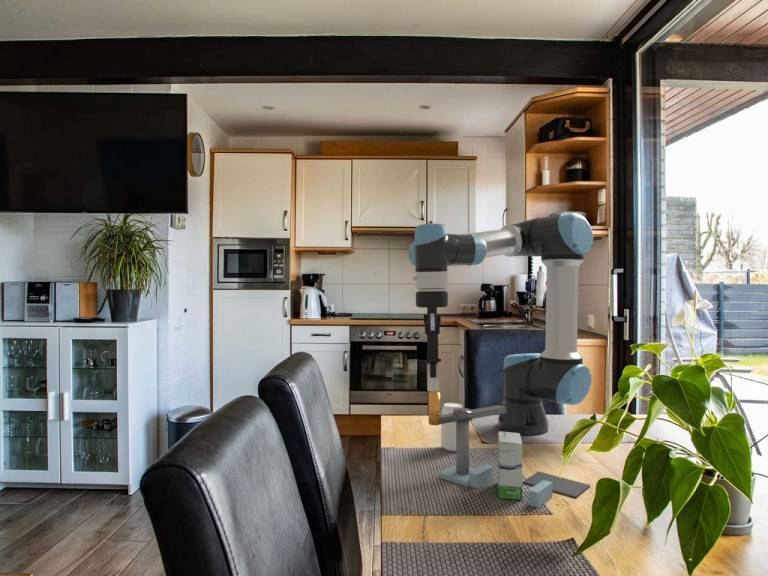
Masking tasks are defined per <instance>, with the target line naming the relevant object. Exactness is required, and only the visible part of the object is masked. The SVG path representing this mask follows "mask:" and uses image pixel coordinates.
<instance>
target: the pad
mask: <svg viewBox="0 0 768 576" xmlns="http://www.w3.org/2000/svg"><path fill="white" fill-rule="evenodd" d="M559 477H561V478H559ZM543 480H545V481H549V482H553V493H557V494H560V495H563V496H566V497H570V498H574V499H578V497H579V496H581V495H582V494H584V492H586V491H588V489H590V488H591V485H590V484H589V483H588V484H587V483H584V482H579V481H577V480H573V479H569V478H565V477H563V476H558V475H554V474H550V473H546V472H543V471H536V472H535V473H533V474H532V475H530V476H529V477H527V478H526V479H524V480H522V484H525V485H527V486H531V487H534V486H535V485H537V484H538V483H540V482H541V481H543Z"/></svg>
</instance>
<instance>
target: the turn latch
mask: <svg viewBox="0 0 768 576" xmlns="http://www.w3.org/2000/svg"><path fill="white" fill-rule="evenodd" d="M503 413H506V407H504V406H503V405H500V404H499V405H498V404H497V405H491V406H486V407H479V408H475V409H471V408H466V407H462V408H455V409H453V413H450V414H444V415H441V391H428V425H429V426H441V424H445V423H450V422H456V421H469V422H470V421H472V420H474V419H481V418H486V417H491V416H496V415H500V414H503Z"/></svg>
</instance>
